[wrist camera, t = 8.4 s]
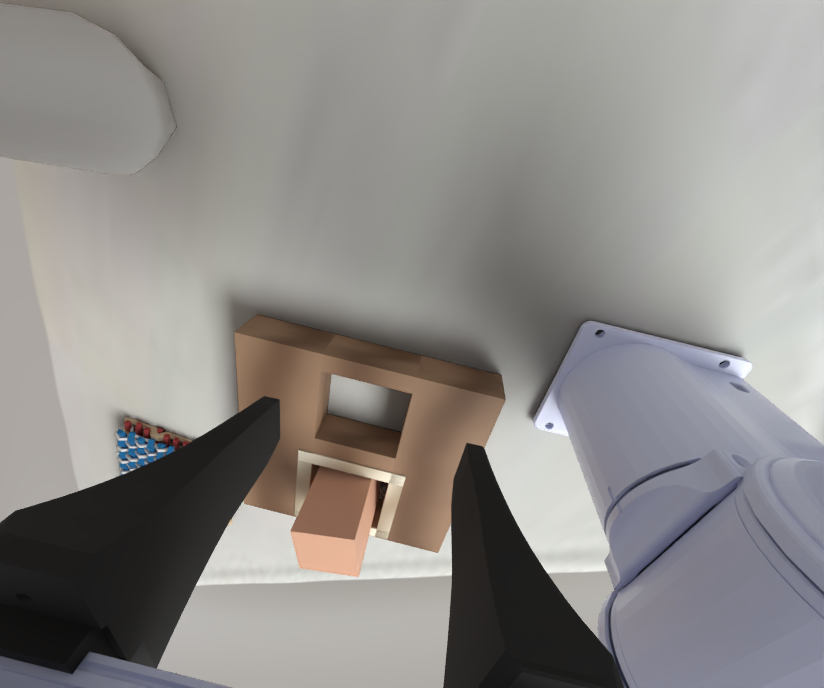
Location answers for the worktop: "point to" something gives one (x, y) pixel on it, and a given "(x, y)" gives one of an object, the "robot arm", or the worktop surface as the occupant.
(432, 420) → the wooden peg board
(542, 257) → the worktop surface
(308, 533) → the pin
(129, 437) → the woven mat
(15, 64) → the salt shaker
